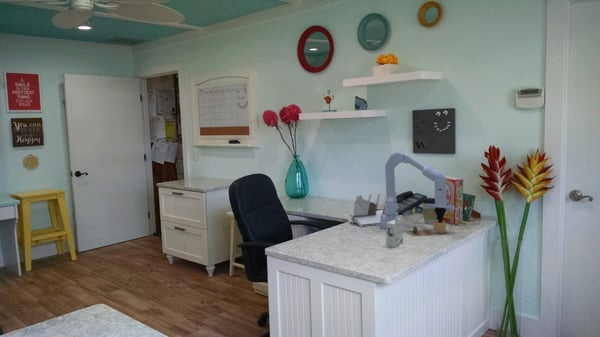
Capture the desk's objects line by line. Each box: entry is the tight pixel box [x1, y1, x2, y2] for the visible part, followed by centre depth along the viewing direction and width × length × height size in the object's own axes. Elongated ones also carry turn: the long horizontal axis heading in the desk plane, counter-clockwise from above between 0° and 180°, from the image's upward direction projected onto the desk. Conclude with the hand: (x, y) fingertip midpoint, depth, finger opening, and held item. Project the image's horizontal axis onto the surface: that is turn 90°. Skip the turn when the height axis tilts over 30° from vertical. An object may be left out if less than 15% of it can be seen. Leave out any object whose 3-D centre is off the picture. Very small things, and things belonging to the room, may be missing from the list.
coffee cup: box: [421, 197, 438, 225], centre depth 261 cm, size 10×10×15 cm
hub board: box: [404, 225, 451, 237], centre depth 238 cm, size 21×12×6 cm, turn 97°
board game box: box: [434, 175, 464, 226], centre depth 268 cm, size 20×6×27 cm, turn 16°
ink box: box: [385, 214, 404, 248], centre depth 218 cm, size 9×5×15 cm, turn 141°
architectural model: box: [349, 191, 400, 228], centre depth 269 cm, size 20×29×21 cm
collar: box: [432, 220, 447, 232], centre depth 239 cm, size 6×6×4 cm
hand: (440, 222), depth 240 cm, fingers closed, pressing on collar
